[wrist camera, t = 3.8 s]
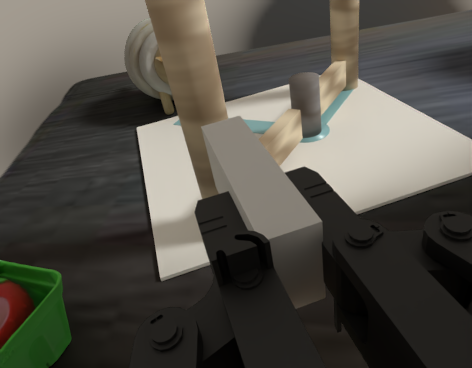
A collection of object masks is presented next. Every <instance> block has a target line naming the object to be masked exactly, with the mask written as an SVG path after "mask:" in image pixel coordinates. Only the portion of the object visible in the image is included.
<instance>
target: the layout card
mask: <svg viewBox="0 0 472 368" xmlns="http://www.w3.org/2000/svg"><path fill="white" fill-rule="evenodd" d="M320 76H321V75H320ZM320 76H319V77H320ZM225 105H226V109H227V114H228V119H229V118H233V117H236V116H241V118H242V119H243V120H244V121H245V123H246V124H247V125H248V127H249V128H250V129H251V130H252V132H253V133H254V134H255V136H256V137H257V138H258V139H259V138H260V137H261V136H262V135H263V134H264V133H265V132H266V131H267V130H268V129H269V128H270V127H271V126H272V125H273V124H274V123H275V122H276V121H277V120H278V119H279V118H280V117H281V116H282V115H283V114H284V113H285V112H286V111H287V110H288V109H291V99H290V89H289V85H285V86H282V87H278V88H275V89H271V90H267V91H264V92H260V93H257V94H253V95H250V96H246V97H243V98H239V99H236V100H232V101H229V102H225ZM321 128H322V131H321V133H320V134H318V135H317V136H314V137H310V138H303V139H302V140H301V141H300V142H299V143H298V145H297V146H296V147H295V148H294V150H293V151H292V152H291V153H290V154H289V156H288V157H287V158H286V159H285V160H284V162H283V163H282V164H281V165H280V168H281V169H282V170H283V172H284V173H285V172H288V171H291V170H294V169H297V168H301V167H304V166H305V167H307V168H309V169H311V170H313V171H316V172H318V173H319V174H320V175H321V176H322V178H323V179H324V180H325V181H326V183H327V184H329V185H330V186H331V187H332V188H333V190H334V191H335V192H336V193H337V194H338V195H339V196H340V197H341V198H342V199H343V200H344V201H345V202H346V203H347V205H348V206H349V207H350V208H351V209H352V210H353V211H354V212H355V213H356V214H360V213H363V212H366V211H369V210H372V209H375V208H378V207H381V206H384V205H386V204H389V203H392V202H395V201H398V200H401V199H404V198H407V197H410V196H413V195H416V194H419V193H422V192H425V191H427V190H430V189H433V188H436V187H439V186H442V185H445V184H448V183H451V182H454V181H457V180H460V179H463V178H466V177H468V176H471V175H472V140H471V139H470V138H468V137H466V136H464V135H462V134H460V133H458V132H457V131H455V130H453V129H451V128H449V127H447V126H445V125H444V124H442V123H440V122H438V121H436V120H434V119H432V118H431V117H429V116H427V115H425V114H423V113H421V112H419V111H417V110H416V109H414V108H412V107H410V106H408V105H406V104H404V103H403V102H401V101H399V100H397V99H395V98H393V97H391V96H390V95H388V94H386V93H384V92H382V91H380V90H378V89H377V88H375V87H373V86H371V85H369V84H367V83H365V82H363V81H362V80H360V79H358V87H357V88H356V89H352V90H348V91H341V93H340V94H339V95H338V96H337V97H336V99H335V100H334V101H333V102H332V103H331V105H330V106H329V107H328V108H327V110H326V111H325V112H324V113H323V114H322V116H321ZM137 134H138V140H139V147H140V153H141V159H142V166H143V172H144V178H145V185H146V191H147V198H148V204H149V210H150V217H151V223H152V229H153V236H154V242H155V249H156V255H157V261H158V268H159V274H160V279H161V281H164V280H167V279H170V278H173V277H176V276H179V275H182V274H185V273H187V272H190V271H193V270H196V269H199V268H202V267H205V266H208V265H210V262H209V259H208V256H207V253H206V249H205V246H204V243H203V240H202V236H201V233H200V230H199V226H198V223H197V220H196V216H195V213H194V212H195V208H196V205H197V201H198V200H201V199H202V197H201V193H200V190H199V186H198V183H197V179H196V176H195V173H194V169H193V166H192V162H191V159H190V155H189V152H188V148H187V145H186V141H185V138H184V134H183V131H182V127H181V124H180V120H179V117H178V116H176V117H172V118H169V119H165V120H162V121H158V122H154V123H151V124H147V125H144V126H140V127H137Z"/></svg>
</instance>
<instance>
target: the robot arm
mask: <svg viewBox="0 0 472 368" xmlns="http://www.w3.org/2000/svg"><path fill="white" fill-rule="evenodd" d="M201 129H202V133H203V137H204V141H205V145H206V149H207V153H208V157H209V161H210V165H211V169H212V173H213V177H214V181H215V186H216V188H217V191H218V193H219V194H217V195H214V196H211V197H208V198H204V199H201V200H198V201H197V205H196V208H195V212H194V213H195V216H196V220H197V223H198V226H199V230H200V233H201V236H202V240H203V243H204V246H205V249H206V253H207V256H208V259H209V262H210V265H211V268H212V271H213V274H214V279H213V284H212V286H211V288H210V290H209V291H208V293H207V294H206V295H205V297H203V298H202V299H201V300H200V301H199V302H198V303H196V304H195V305H193V306H192V307H190V308H189V309H187V310H185V309H182V308H180V307H168V308H165V309H162V310H159V311H157V312H155V313H154V314H152V315H151V316H149V317H148V318H146V320H145V321H144V322H143V323H142V324H141V326H140V327H139V328H138V331H137V333H136V336H135V339H134V343H133V348H132V353H131V359H130V364H129V368H326V367H325V365H324V363H323V361H322V359H321V357H320V355H319V353H318V351H317V349H316V347H315V346H314V344H313V342H312V340H311V338H310V336H309V334H308V332H307V330H306V328H305V326H304V324H303V322H302V321H301V319H300V317H299V315H298V313H297V311H296V309H297V308H299V307H302V306H305V305H308V304H310V303H313V302H316V301H319V300H321V299H324V298H326V287H325V284H326V286H327V288H328V289H329V291H330V292H331V294H332V295H333V297H334V317H335V327H336V330H337V333H338V332H340V331H341V322H342V324H343V325H344V327H345V329H346V330H347V332H348V334H349V335H350V337H351V338H352V340H353V342H354V343H355V345H356V347H357V348H358V350H359V351H360V353H361V355H362V356H363V358H364V360H365V361H366V363H367V364H368V366H369V368H472V216H471V215H469V214H466V213H463V212H456V211H442V212H438V213H435V214H432V215H430V216H429V217H428V218H427V219H426V221H425V225H424V229H419V230H406V231H388V230H387V229H386V228H384V227H383V226H382V225H380V224H379V223H377V222H374V221H371V220H368V219H360V218H359V216H358V215H357V214H356V213H355V212H354V211H353V210H352V209H351V208H350V207H349V206H348V205H347V203H346V202H345V201H344V200H343V199H342V198H341V197H340V196H339V195H338V194H337V193H336V192H335V191H334V190H333V188H332V187H331V186H330V185H329V184H327V183H326V181H325V180H324V179H323V178H322V176H321V175H320V174H319V173H318V172H316V171H313V170H311V169H309V168H307V167H305V166H304V167H301V168H297V169H294V170H291V171H288V172H285V173H284V172H283V170H282V169H281V168H280V166H279V165H278V164H277V163H276V161H275V160H274V159H273V157H272V156H271V155H270V154H269V152H268V151H267V150H266V148H265V147H264V146H263V145H262V143H261V142H260V141H259V139H258V138H257V137H256V136H255V134H254V133H253V132H252V130H251V129H250V128H249V127H248V125H247V124H246V123H245V121H244V120H243V119H242V118H241V116H236V117H233V118H229V119H226V120H222V121H219V122H215V123H212V124H208V125H205V126H201Z"/></svg>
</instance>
